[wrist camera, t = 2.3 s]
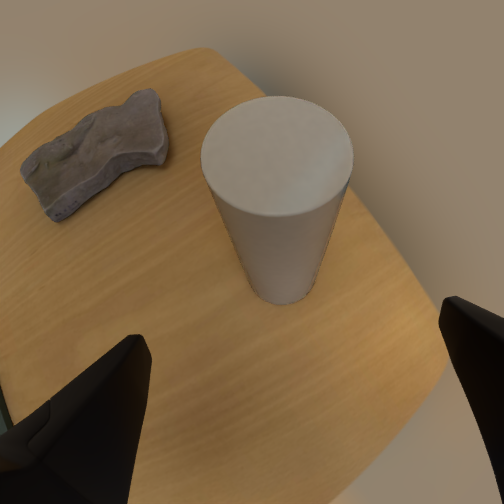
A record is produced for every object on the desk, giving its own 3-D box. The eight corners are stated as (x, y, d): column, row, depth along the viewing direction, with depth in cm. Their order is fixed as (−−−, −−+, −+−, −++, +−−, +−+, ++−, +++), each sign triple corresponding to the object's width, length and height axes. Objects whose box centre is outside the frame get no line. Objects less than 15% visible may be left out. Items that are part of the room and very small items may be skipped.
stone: (159, 95, 28) (146, 66, 25) (186, 160, 25) (171, 128, 21) (39, 163, 28) (18, 142, 24) (43, 237, 24) (15, 218, 20)
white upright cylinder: (329, 283, 21) (385, 171, 8) (267, 317, 20) (243, 246, 8) (294, 227, 22) (299, 79, 10) (235, 258, 22) (178, 131, 10)
